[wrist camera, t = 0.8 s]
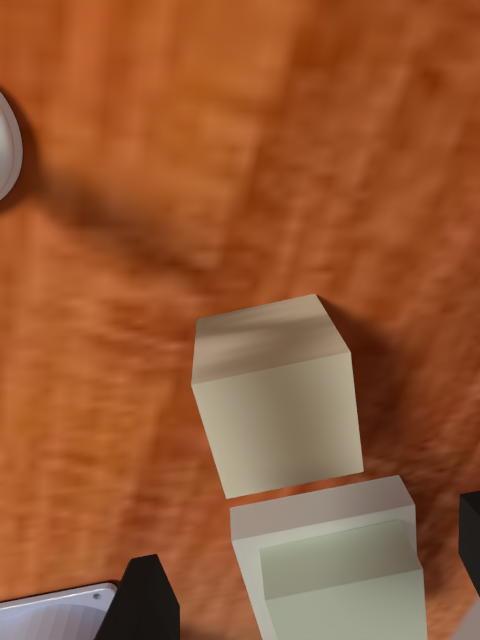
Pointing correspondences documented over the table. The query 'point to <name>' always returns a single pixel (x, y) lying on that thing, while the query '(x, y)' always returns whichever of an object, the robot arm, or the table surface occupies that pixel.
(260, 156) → the table surface
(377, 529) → the tower top
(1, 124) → the chess piece
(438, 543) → the table surface
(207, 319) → the maple cube
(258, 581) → the tower base
